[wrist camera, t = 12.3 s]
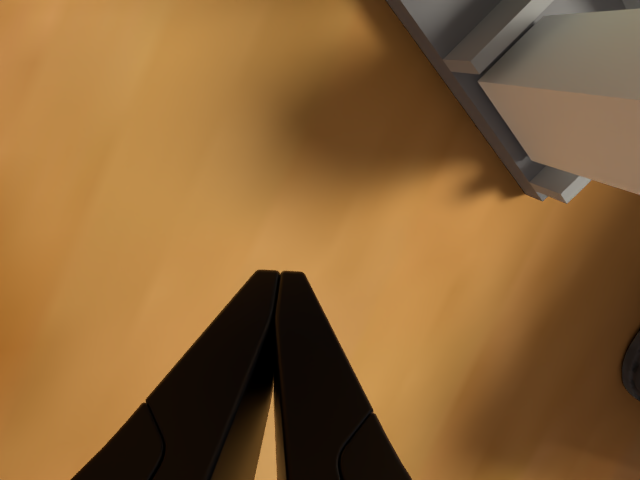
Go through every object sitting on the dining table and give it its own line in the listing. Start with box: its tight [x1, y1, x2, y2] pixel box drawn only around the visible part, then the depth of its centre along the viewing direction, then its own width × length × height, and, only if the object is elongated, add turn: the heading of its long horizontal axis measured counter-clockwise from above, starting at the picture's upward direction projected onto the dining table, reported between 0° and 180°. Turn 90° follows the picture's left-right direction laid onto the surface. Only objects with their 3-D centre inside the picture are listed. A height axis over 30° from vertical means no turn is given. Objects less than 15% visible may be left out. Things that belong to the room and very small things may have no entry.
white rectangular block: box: [477, 8, 640, 195], centre depth 17 cm, size 4×4×8 cm
